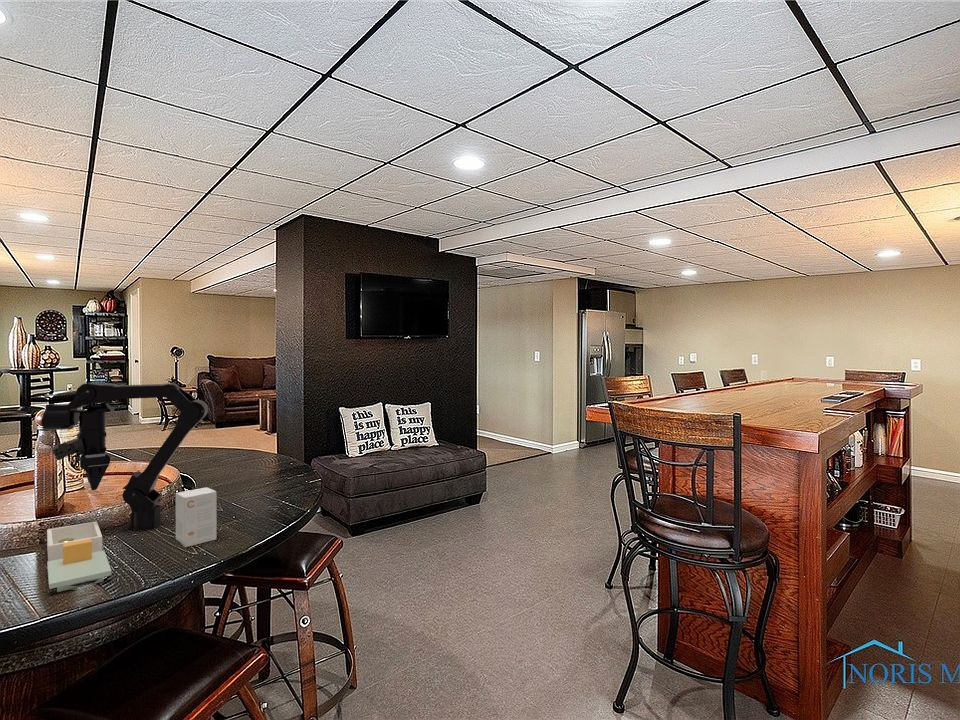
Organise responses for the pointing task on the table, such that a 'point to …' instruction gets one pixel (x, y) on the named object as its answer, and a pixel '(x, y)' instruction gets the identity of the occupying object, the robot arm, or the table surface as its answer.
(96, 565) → the lid
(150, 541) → the table surface
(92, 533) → the tub
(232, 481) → the table surface
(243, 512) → the table surface
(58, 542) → the brass part
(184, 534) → the small box
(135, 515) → the robot arm
